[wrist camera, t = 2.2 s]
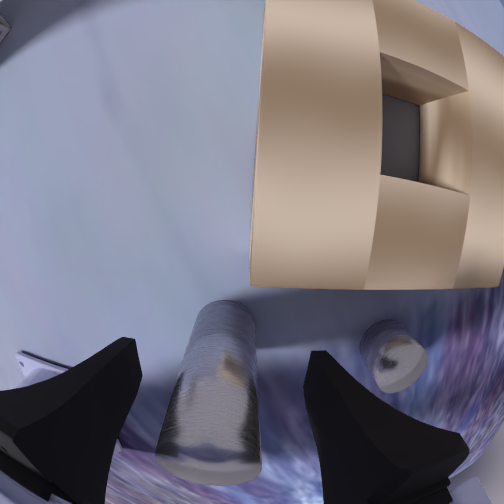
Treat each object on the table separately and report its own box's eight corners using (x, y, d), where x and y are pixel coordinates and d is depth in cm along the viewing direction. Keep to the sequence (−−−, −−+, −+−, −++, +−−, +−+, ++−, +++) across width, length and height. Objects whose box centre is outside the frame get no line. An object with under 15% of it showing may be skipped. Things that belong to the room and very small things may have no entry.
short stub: (395, 358, 14) (415, 388, 12) (353, 363, 14) (370, 396, 11) (409, 317, 14) (435, 344, 11) (366, 319, 13) (389, 350, 11)
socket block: (454, 262, 13) (498, 286, 9) (249, 251, 12) (250, 286, 8) (461, 70, 9) (503, 56, 6) (264, 11, 9) (269, -38, 5)
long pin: (253, 351, 14) (257, 487, 6) (196, 348, 14) (164, 478, 6) (257, 302, 13) (267, 443, 5) (194, 298, 13) (144, 431, 5)
